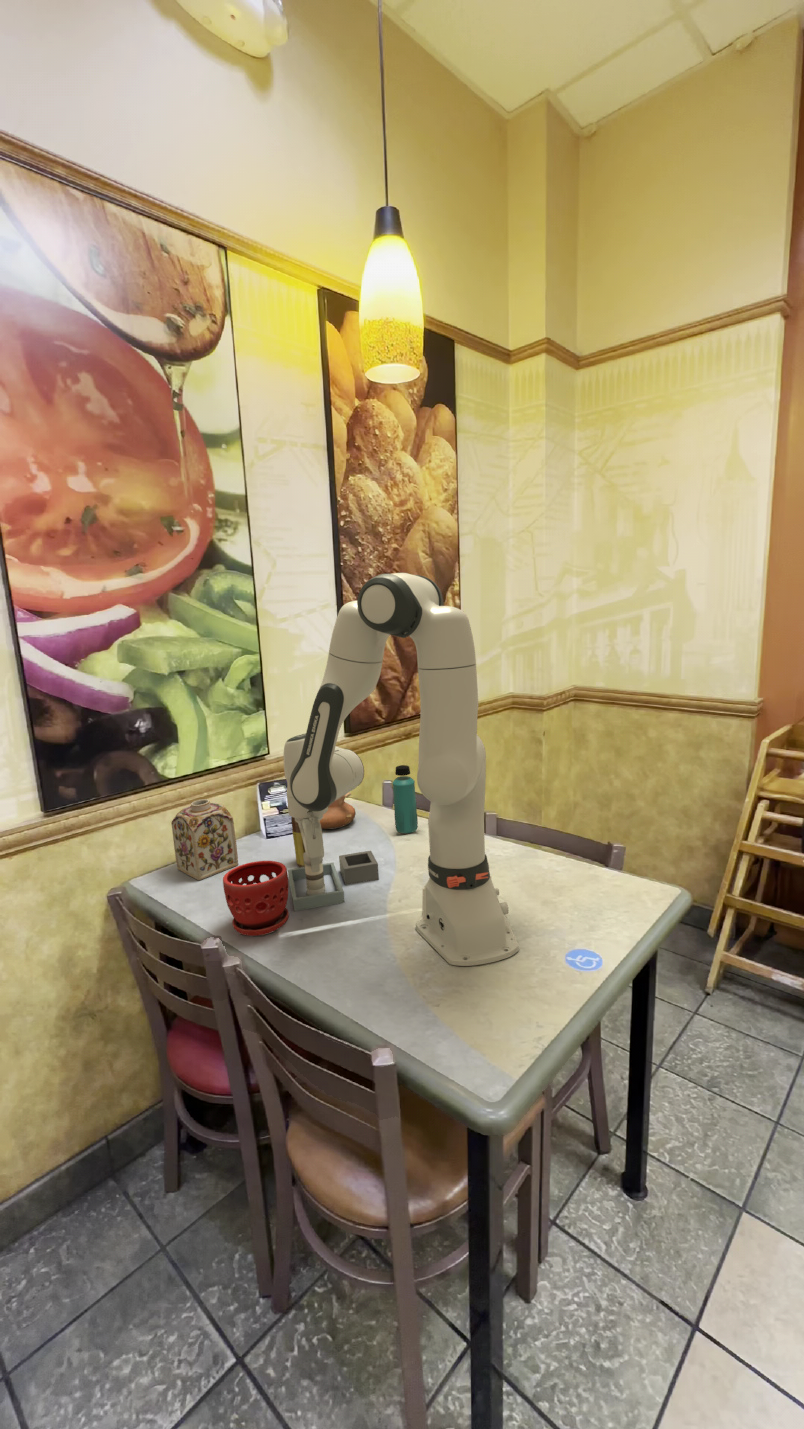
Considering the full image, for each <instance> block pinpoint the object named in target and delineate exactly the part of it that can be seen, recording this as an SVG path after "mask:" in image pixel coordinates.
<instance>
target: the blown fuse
mask: <svg viewBox="0 0 804 1429" xmlns="http://www.w3.org/2000/svg"><path fill="white" fill-rule="evenodd" d="M303 858H304V864H305V875H306V878H305V883H306V888H305V889H306V896H311V895H316V894H322V893H327V892H326V883H325V878H324V877H325V875H324V873H323V864H324V863H323V862H324V860H323V858H324V857H323V858H320V862H319V867H320V870H319V871H318V872H312V870H311V863H310V860H308V858H307V855H306V852H304V853H303Z"/></svg>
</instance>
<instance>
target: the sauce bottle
mask: <svg viewBox="0 0 804 1429" xmlns="http://www.w3.org/2000/svg"><path fill="white" fill-rule="evenodd" d="M290 820H291V828H292V829H291V830H292V838H293V846H294V854H295V859H296V860H295V862H296V863H297V867H298V868H301V867H305V864H304V858H303V853H304V852H306V851H305V847H304V843H303V839H302V836H301V832H300V828H299V825H298V823H297V822H296V821H295V818H294V817H291V818H290Z"/></svg>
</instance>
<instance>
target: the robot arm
mask: <svg viewBox="0 0 804 1429" xmlns="http://www.w3.org/2000/svg"><path fill="white" fill-rule="evenodd" d="M390 635H391V636H393V637H397V638H401V639H406V638H408V637H409V638H410V639H412V641H413V643H414V646H415V649H416V656H417V657H416V660H417V674H418V676H417V677H418V686H419V687H418V688H419V701H420V719H419V720H420V721H419V730H418V731H419V733H418V735H419V736H418V765H417V774H416V781H417V787H418V789H419V791H420V793H421V794H422V795H423V797H425V799H426V800H428V801H429V802H430V805H429V813H428V814H429V815H428V821H427V826H428V843H429V844H428V845H429V856H428V857H427V858H428V859H427V870H428V876H429V878H428V880H427V882H426V883H425V885H424V886H423V888H422V896H421V897H422V898H421V899H422V900H421V901H422V911H421V912H422V913H421V914H422V915H421V916H422V918H421V919H419V920H418V921H417V922H416V923H415V930H416V931H417V933H419V935H421V936H422V938H423V939H425V941H427V943H428V944H429V945H430V946H431V947H432V948H433V949H434V950H436V952H437V953H438V954H439V955H440V956H441V957H442V958H443V959H444V960H445V961H446V962H447V963H449V964H450V965H452V966H459V967H460V966H461V967H465V966H466V967H469V966H479V965H480V966H481V965H485V964H490V963H495V962H498V961H501V960H505V959H507V958H510V957H512V956H514V955H515V954H517V952H519V950H520V949H519V943H518V940H517V939H516V936H515V934H514V932H513V930H512V927H511V925H510V923H509V919H508V918H507V916H506V915H509V912H510V911H509V905H508V903H507V902H506V901H505V902H503V901H502V902H500V900H499V897H498V896H500V890H499V887H498V888H495V886H494V882H493V881H492V876H491V873H490V864H489V861H488V856H487V854H486V848H485V845H486V843H485V806H486V805H485V803H486V783H487V782H486V778H487V776H486V774H487V773H486V772H487V762H486V761H487V755H486V754H487V753H486V747H485V744H484V742H483V740H482V739H481V737H480V736H479V735H478V712H479V693H478V676H477V659H476V650H475V642H474V637H473V633H472V626H471V624H470V620H469V617H468V615H467V614H466V612H464V611H463V610H462V609H460V608H458V607H455V606H451V605H444V597H443V594H442V590H441V588H440V586H438V584H436V582H434V581H433V580H432V579H430V578H428V577H427V576H424V575H419V574H410V573H408V572H394V573H382V574H378V575H376V576H374V577H372V578H370V579H369V580H368V581H366V582H365V583H364V584H363V585H362V587H361V589H360V590H359V592H358V596H357V600H352V601H349V602H346V603H344V605H342V606H341V607H340V609H339V611H338V613H337V617H336V620H335V623H334V627H333V630H332V634H331V638H330V644H329V649H328V656H327V661H326V666H325V670H324V674H323V678H322V681H321V684H320V686H319V689H318V690H317V693H316V696H315V697H314V698H315V699H314V701H313V704H312V708H311V712H310V716H309V720H308V724H307V727H306V728H307V729H306V733H302V734H299V735H296V736H292V737H290V738H289V739H287V740H286V741H285V744H284V746H283V771H284V778H285V779H286V784H287V787H286V803H287V810H288V811H287V812H288V816H290V817H291V818H292V817H294V818H295V821H296V822H297V823H298V825H299V828H300V832H301V836H302V839H303V843H304V847H305V851H306V855H307V858H308V860H310V863H311V870H312V872H318V871H319V870H320V867H319V862H320V858H324V857H325V846H324V840H323V839H324V838H323V829H322V828H321V824H320V820H321V819H322V818H323V814H325V813H326V812H327V811H328V806H329V805H331V804H332V803H333V802H334V801H335V800H337V799H339V798H341V797H342V796H344V795H346V794H347V793H348V792H349V793H351V791H353V790H355V789H356V788H357V787H358V786H360V785H361V784H362V783H363V780H364V777H365V767H364V763H363V761H362V759H361V757H360V756H359V755H358V754H357V753H356V752H355V751H353V750H352V749H348V748H342V747H339V746H337V743H338V738H339V734H340V730H341V727H342V725H343V723H344V721H345V720H346V718H347V717H348V716H349V714H350V713H351V712H353V711H354V709H355V708H356V707H357V706H358V705H360V704H361V703H362V702H363V701H364V700H366V699H367V698H368V697H370V696H371V695H372V694H373V692H374V691H375V689H376V687H377V684H378V682H379V679H380V676H381V672H382V666H383V661H384V655H385V649H386V643H387V641H388V639H389V637H390Z"/></svg>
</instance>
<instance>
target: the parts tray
mask: <svg viewBox="0 0 804 1429" xmlns="http://www.w3.org/2000/svg"><path fill="white" fill-rule="evenodd" d="M323 873H324V876H327V875H328V876H329V875H331V876H332V880H333V882H334V886H335V888H336V890H335V891H327V892H326V893H322V894H316V895H311V896H307V895H306V896H299V897H297V893H296V887H295V882H294V881H297V880H302V879H306V875H305V867H297V868H296V867H295V868H290V869H287V874H288V884H289V887H290V893H291V894H290V895H291V899H292V904H293V911H294V912H299V911H301V910H303V911H304V910H308V909H309V910H310V909H314V908H315V909H316V908H320V907H321V908H322V907H324V906H331V905H337V904H343V903H346V902H345V900H346V899H345V891H344V888H343V885H342V883H341V879H340V877H339V875H338V871H337V869H336V866H335V864H334V862H327V863H323Z"/></svg>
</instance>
